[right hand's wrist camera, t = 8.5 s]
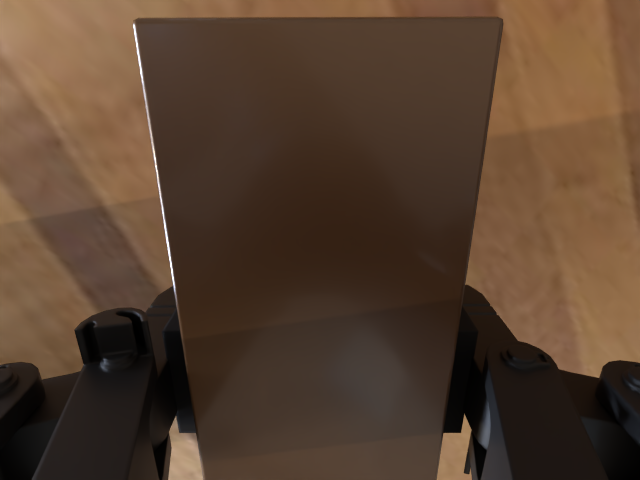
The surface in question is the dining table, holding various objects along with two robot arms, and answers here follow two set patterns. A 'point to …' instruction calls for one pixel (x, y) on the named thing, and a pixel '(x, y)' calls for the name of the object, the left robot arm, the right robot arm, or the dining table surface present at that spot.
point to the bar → (318, 230)
